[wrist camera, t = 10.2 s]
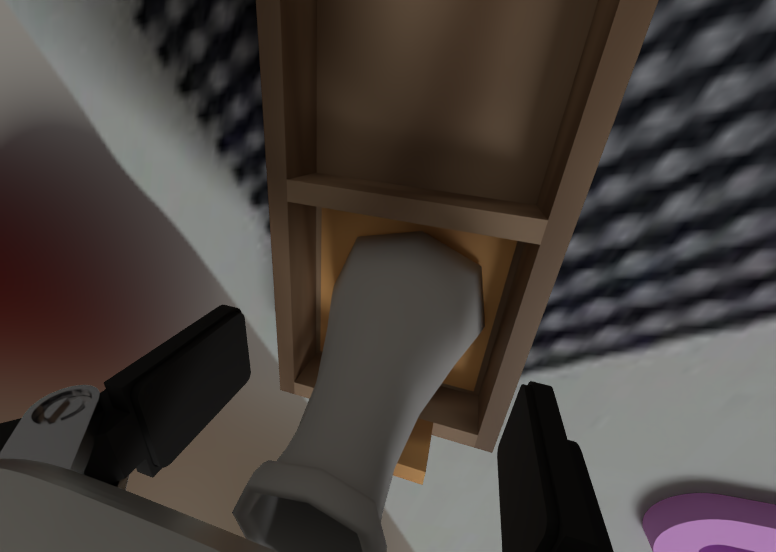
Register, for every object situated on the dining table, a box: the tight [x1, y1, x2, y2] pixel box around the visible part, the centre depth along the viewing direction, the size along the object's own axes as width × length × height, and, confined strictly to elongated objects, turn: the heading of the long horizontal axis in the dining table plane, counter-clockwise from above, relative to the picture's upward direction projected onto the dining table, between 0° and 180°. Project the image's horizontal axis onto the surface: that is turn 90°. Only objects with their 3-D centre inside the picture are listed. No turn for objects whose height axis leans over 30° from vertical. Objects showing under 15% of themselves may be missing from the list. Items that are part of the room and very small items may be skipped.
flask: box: [232, 231, 485, 552], centre depth 11 cm, size 7×7×10 cm
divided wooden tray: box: [256, 0, 658, 485], centre depth 11 cm, size 11×20×6 cm, turn 174°
